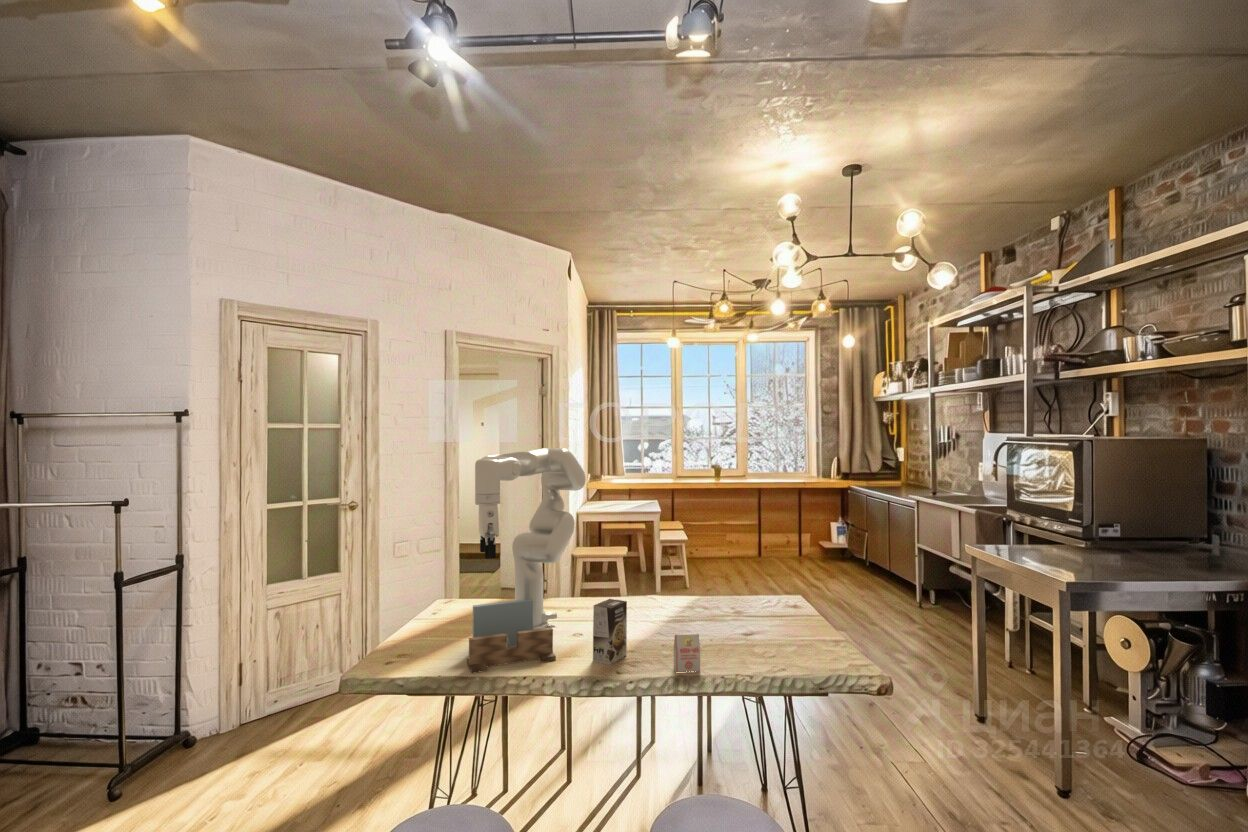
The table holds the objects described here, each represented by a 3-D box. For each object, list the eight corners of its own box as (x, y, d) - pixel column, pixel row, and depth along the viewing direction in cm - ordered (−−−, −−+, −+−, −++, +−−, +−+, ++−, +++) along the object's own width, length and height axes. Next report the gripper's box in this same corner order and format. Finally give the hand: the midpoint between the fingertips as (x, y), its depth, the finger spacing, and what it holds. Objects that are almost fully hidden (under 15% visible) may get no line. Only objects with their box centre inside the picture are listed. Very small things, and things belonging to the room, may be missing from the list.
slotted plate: (530, 643, 191) (531, 598, 191) (532, 646, 189) (532, 600, 189) (472, 652, 183) (472, 605, 184) (473, 654, 182) (474, 607, 182)
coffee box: (610, 665, 173) (610, 608, 174) (592, 661, 177) (592, 604, 177) (627, 655, 181) (627, 600, 182) (609, 651, 184) (609, 597, 185)
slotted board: (547, 650, 185) (547, 624, 185) (555, 660, 177) (555, 632, 178) (466, 663, 175) (467, 634, 175) (471, 673, 168) (472, 643, 168)
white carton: (673, 668, 171) (673, 632, 172) (697, 667, 172) (697, 631, 172) (675, 673, 168) (676, 636, 168) (700, 672, 168) (700, 636, 169)
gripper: (504, 501, 181) (505, 559, 181) (495, 495, 197) (495, 548, 197) (479, 503, 178) (479, 561, 178) (471, 496, 194) (471, 550, 194)
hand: (487, 554), depth 188 cm, fingers open, 9 cm apart
